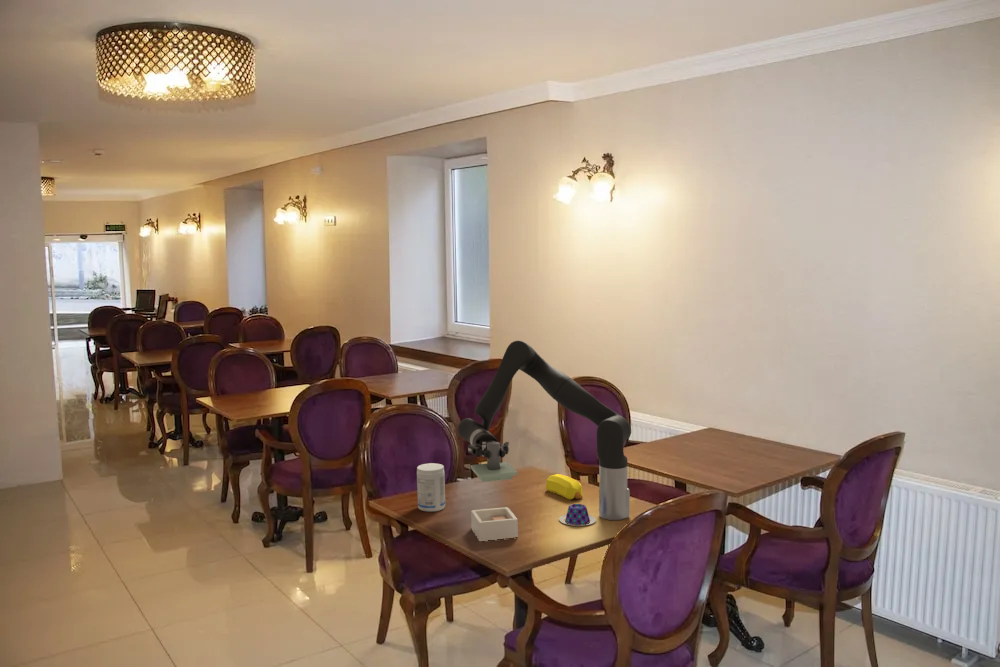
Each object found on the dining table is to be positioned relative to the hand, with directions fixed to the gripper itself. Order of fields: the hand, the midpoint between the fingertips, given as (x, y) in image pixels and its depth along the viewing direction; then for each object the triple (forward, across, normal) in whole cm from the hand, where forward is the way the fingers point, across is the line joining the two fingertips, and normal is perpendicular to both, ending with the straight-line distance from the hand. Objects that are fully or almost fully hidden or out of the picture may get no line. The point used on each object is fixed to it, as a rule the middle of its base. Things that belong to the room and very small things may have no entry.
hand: (495, 454), depth 235 cm
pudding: (-7, +29, +26) cm, 40 cm away
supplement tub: (-33, -15, +26) cm, 45 cm away
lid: (-3, 0, +8) cm, 8 cm away
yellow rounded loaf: (-35, +34, +26) cm, 56 cm away
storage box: (-3, 0, +26) cm, 26 cm away
